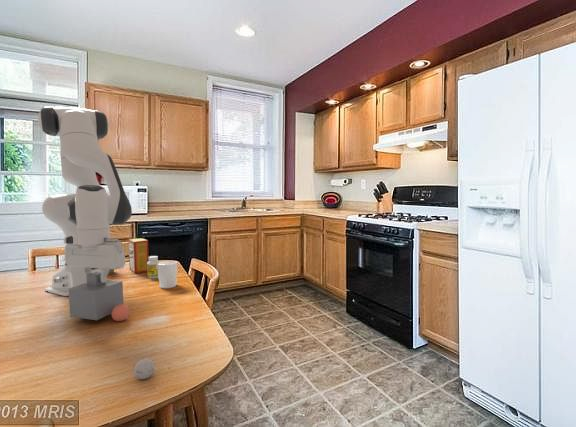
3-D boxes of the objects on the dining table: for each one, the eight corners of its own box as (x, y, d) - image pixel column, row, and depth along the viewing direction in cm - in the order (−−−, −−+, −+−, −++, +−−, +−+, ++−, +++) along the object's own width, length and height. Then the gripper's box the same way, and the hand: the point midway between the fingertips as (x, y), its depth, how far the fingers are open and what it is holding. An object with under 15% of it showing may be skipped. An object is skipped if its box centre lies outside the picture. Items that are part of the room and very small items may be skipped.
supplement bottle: (162, 276, 147) (162, 255, 146) (154, 279, 142) (153, 258, 141) (153, 275, 148) (152, 255, 148) (144, 278, 143) (144, 257, 143)
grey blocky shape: (70, 316, 95) (67, 277, 94) (98, 305, 105) (96, 268, 104) (96, 320, 92) (94, 279, 91) (123, 307, 102) (121, 270, 101)
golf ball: (133, 385, 65) (133, 366, 64) (134, 374, 68) (134, 357, 68) (154, 380, 66) (154, 362, 66) (154, 370, 70) (154, 353, 69)
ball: (107, 322, 95) (107, 306, 95) (120, 316, 100) (119, 301, 99) (121, 324, 94) (120, 308, 93) (133, 318, 98) (133, 302, 98)
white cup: (171, 289, 127) (170, 265, 126) (154, 288, 128) (153, 264, 128) (181, 283, 135) (181, 261, 134) (165, 282, 136) (164, 260, 135)
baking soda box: (129, 270, 158) (128, 238, 157) (143, 267, 162) (142, 237, 161) (135, 273, 151) (133, 241, 150) (149, 271, 155) (148, 239, 154)
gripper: (129, 237, 97) (131, 280, 98) (78, 235, 102) (80, 276, 103) (112, 240, 91) (115, 286, 92) (59, 238, 96) (62, 282, 97)
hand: (96, 281), depth 98 cm, fingers closed on grey blocky shape, 3 cm apart
